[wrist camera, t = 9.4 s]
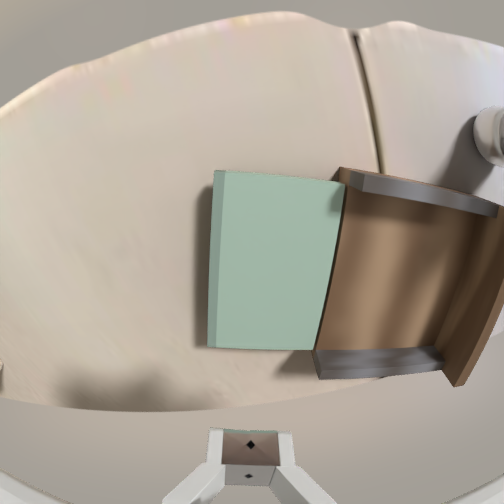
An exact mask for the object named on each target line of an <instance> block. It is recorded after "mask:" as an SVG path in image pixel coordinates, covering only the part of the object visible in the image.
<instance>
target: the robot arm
mask: <svg viewBox="0 0 504 504" xmlns="http://www.w3.org/2000/svg"><path fill="white" fill-rule="evenodd" d="M224 485H248V486H269V488H270V489H271V490H272V492H273V493H274V494H275V496H276V497H277V498H278V500H279V501H280V502H281V504H337V503H336V502H335V501H334V500H333V499H332V498H331V497H330V496H329V495H328V494H327V493H326V492H325V491H324V490H323V489H322V488H321V487H320V486H319V485H318V484H317V483H316V482H315V481H314V480H313V479H312V478H311V477H310V476H309V475H308V474H307V473H306V472H305V471H304V470H303V469H302V468H301V467H300V466H296V465H295V457H294V449H293V442H292V434H291V432H290V431H256V430H255V431H254V430H250V431H247V430H233V429H223V428H210V430H209V436H208V444H207V453H206V462H205V463H200V464H199V466H197V468H195V469H194V470H193V471H192V472H191V473H190V474H189V475H188V476H187V477H186V478H185V479H184V480H183V481H182V482H181V483H180V484H179V485H178V486H177V487H176V488H174V489H173V490H172V491H171V492H170V493H169V494H168V495H167V496H166V497H165V498H163V502H162V504H210V503H211V501H212V500H213V499H214V498H215V497H216V495H217V494H218V493H219V492H220V491H221V489H222V488H223V487H224ZM0 504H72V503H70V502H67V501H65V500H63V499H60V498H58V497H56V496H53V495H51V494H49V493H47V492H44V491H43V490H41V489H39V488H37V487H35V486H32V485H30V484H29V483H27V482H25V481H23V480H21V479H19V478H17V477H16V476H14V475H12V474H10V473H9V472H7V471H5V470H4V469H2V468H0ZM442 504H504V474H502V475H500V476H498V477H497V478H495V479H493V480H491V481H489V482H487V483H485V484H484V485H482V486H480V487H478V488H476V489H474V490H472V491H469V492H467V493H465V494H463V495H461V496H459V497H456V498H454V499H452V500H449V501H447V502H445V503H442Z"/></svg>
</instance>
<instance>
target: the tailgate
mask: <svg viewBox="0 0 504 504" xmlns="http://www.w3.org/2000/svg"><path fill="white" fill-rule="evenodd" d="M344 190H345V184H343V183H340V182H336V181H328V180H320V179H312V178H304V177H295V176H285V175H275V174H265V173H253V172H240V171H226V170H215V171H214V183H213V199H212V217H211V237H210V260H209V289H208V337H207V347H219V348H238V349H268V350H313V347H314V343H315V339H316V335H317V331H318V327H319V323H320V318H321V314H322V309H323V305H324V300H325V296H326V291H327V286H328V282H329V277H330V272H331V267H332V262H333V256H334V251H335V246H336V240H337V234H338V228H339V223H340V216H341V210H342V204H343V197H344Z"/></svg>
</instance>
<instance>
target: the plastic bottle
mask: <svg viewBox="0 0 504 504" xmlns="http://www.w3.org/2000/svg"><path fill="white" fill-rule="evenodd" d="M473 135H474V140H475V144H476V146H477V148H478V150H479V152H480V153H481V155H482V156H483V157H484V158H485V159H486V160H487V161H488V162H490V163H492V164H494V165H497V166H499V167H504V107H501V106H492V107H489V108H485V109H483V110H482V111H480V113H479V114H478V116H477V117H476V120H475V122H474V127H473Z"/></svg>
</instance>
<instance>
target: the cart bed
mask: <svg viewBox="0 0 504 504" xmlns="http://www.w3.org/2000/svg"><path fill="white" fill-rule="evenodd" d="M338 182H340V183H343V184H345V190H344V197H343V204H342V210H341V216H340V223H339V228H338V234H337V240H336V246H335V251H334V256H333V262H332V267H331V272H330V277H329V282H328V286H327V291H326V296H325V300H324V305H323V309H322V314H321V318H320V323H319V327H318V331H317V335H316V339H315V343H314V347H313V350H311V352H312V356H313V359H314V363H315V367H316V371H317V374H318V378H319V380H323V379H353V378H370V377H383V376H395V375H405V374H414V373H422V372H429V371H437V370H442V371H443V373H444V374H445V375H446V377H447V378H448V380H449V381H450V383H451V384H452V386H453V387H457V386H462V385H464V384H465V382H466V380H467V379H468V377H469V375H470V373H471V372H472V370H473V368H474V366H475V364H476V363H477V361H478V359H479V357H480V355H481V353H482V351H483V349H484V347H485V345H486V343H487V341H488V339H489V337H490V335H491V332H492V330H493V328H494V326H495V324H496V321H497V319H498V317H499V314H500V312H501V309H502V307H503V304H504V206H501V205H499V204H496V203H493V202H491V201H488V200H485V199H482V198H480V197H477V196H474V195H471V194H467V193H463V192H460V191H456V190H452V189H448V188H444V187H440V186H436V185H431V184H427V183H423V182H418V181H414V180H409V179H404V178H400V177H395V176H390V175H384V174H379V173H374V172H368V171H362V170H357V169H351V168H344V167H340V170H339V177H338Z"/></svg>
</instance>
